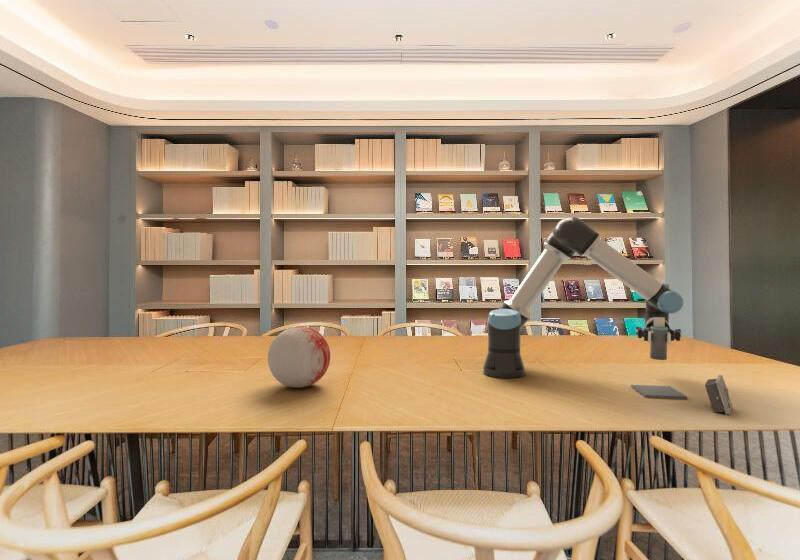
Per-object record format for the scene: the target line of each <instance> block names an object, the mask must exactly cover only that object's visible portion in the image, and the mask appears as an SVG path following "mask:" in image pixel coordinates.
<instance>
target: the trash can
mask: <svg viewBox="0 0 800 560" xmlns="http://www.w3.org/2000/svg"><path fill="white" fill-rule="evenodd" d="M650 329H651V343H650V344H649V345H650V346H649V347H650V348H649V349H650V350H649V352H650V353H649V358H650V359H652V360H655V361H656V360H657V361H658V360H659V361H666V360H668V343H667V330H668V327H665V318H664V317H654V326H650Z"/></svg>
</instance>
